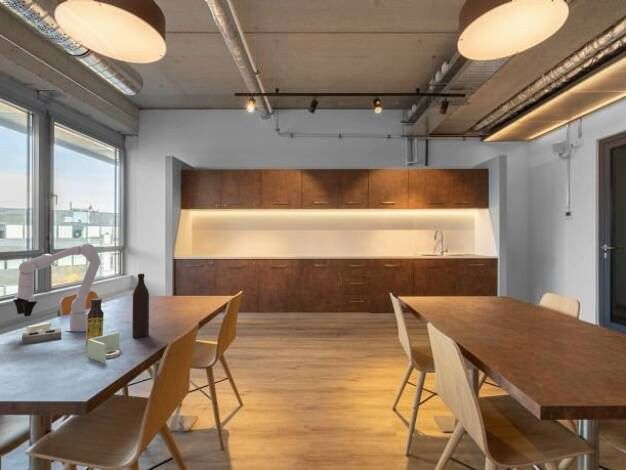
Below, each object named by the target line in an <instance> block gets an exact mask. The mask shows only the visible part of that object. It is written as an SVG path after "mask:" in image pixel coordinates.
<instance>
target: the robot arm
mask: <svg viewBox="0 0 626 470" xmlns="http://www.w3.org/2000/svg"><path fill="white" fill-rule="evenodd" d="M72 255H76V256H78V255H82V257H85V259H86V260H87V261H88V262H89V264H88V267H87V270H86V271H85V274H84V277H83V279H82V282H81V284H80V287H79V290H78V292H77V294H76V297H75V298H74V299H73V300H72V302H71V305H70V312H69V329H67V330H65V332H78V333H79V332H87V319H88V313H89V311H88V309H86V308H87V299H88V296H89V293H90V291H91V289H92V286H93V284H94V280H95V278H96V275H97V273H98V271H99V268H100V265H101V259H100V256H99V253H98V249H96V247H95V246H94V245H93V244H92V243H84V244H82V245H81V244H80V245H77V246H76V245H75V246H71V247H69V248H66V249H65V250H61V251H59V252H56V253H53V254H50V253H43V254H41V255H39V256H37V257H35V258H34V257H33V258H29V260H26V261H23V262H21V263H20V264H19V266H18V269H19V276H18V285H17V286H18V287H17V294H16V295H15V296H14V297H13V299H12V302H14V305H15V308H16V313H17V315H21V314H22V315H23V316H24V317H31V315H32V314H33V310H34V307H35V306H36V304H37V303H38V301H37V300H35V295H34V289H35V271H36V270H38V271H39V270H41V269H44V268H47V267H50V266H52V265H54V263H55V261H58V260H61V259H64V258H66V257H70V256H72Z"/></svg>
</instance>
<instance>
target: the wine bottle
mask: <svg viewBox="0 0 626 470" xmlns="http://www.w3.org/2000/svg"><path fill="white" fill-rule="evenodd" d="M137 280H138V281H137V285H136V287H135V288H134V291H133V294H132V329H131V331H132V332H131V333H132V338H134V339H142V338H146V337H148V336H149V335H150V293H149V290H148V288H147V286H146V283H145V273H138V274H137Z"/></svg>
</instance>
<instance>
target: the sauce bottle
mask: <svg viewBox="0 0 626 470" xmlns="http://www.w3.org/2000/svg"><path fill="white" fill-rule="evenodd" d="M102 301H103V300H102V298H101V297H100V298H91V299H90V303H91V306H90V307H91V308H90V310H89V311H88V312H89V313H88V319H87V331H85V332H86V335H85V337H86V338H85V342H86V345H87V339H91V338H95V337H100V336H104V335H103V334H104V315H105V314H104V312H103V310H102Z"/></svg>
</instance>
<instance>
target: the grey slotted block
mask: <svg viewBox="0 0 626 470" xmlns="http://www.w3.org/2000/svg"><path fill="white" fill-rule="evenodd" d="M59 339H60V340H61V339H62V329H61V327H60V328H53V329H50V330H44V331H42V330H37V332H29V333H28V332H23V333H22V335H21V344H22V345H26V344H32V343H40V342H46V341H52V340H59Z"/></svg>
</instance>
